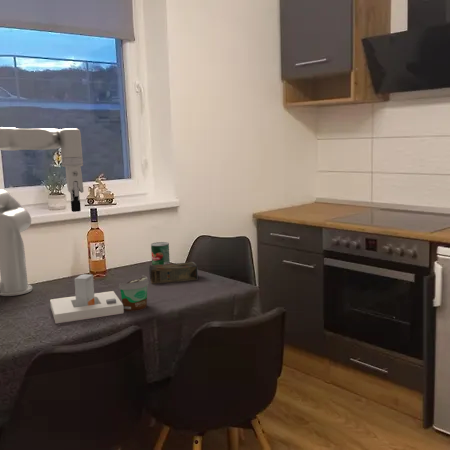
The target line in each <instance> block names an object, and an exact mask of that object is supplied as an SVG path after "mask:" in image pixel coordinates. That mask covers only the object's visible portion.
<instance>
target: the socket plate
mask: <svg viewBox="0 0 450 450" xmlns="http://www.w3.org/2000/svg"><path fill="white" fill-rule="evenodd" d="M94 298H95V305H89V306H82V307H76V295H74V296H67V297H59V298H53V299H52V298H51V299H49V305H50V310H51V313H52V317H53V319H54V324H62V323H63V324H64V323H69V322H74V321H75V322H76V321H81V320H89V319H95V318H100V317H101V318H102V317H107V316H113V315H114V316H115V315H120V314H124V313H125V311H124V309H123V304H122V300H121V299H120V298H119V296H118V295H117V294H116V293H115V291H114V290H112V291H103V292H94Z"/></svg>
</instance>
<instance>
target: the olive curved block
mask: <svg viewBox="0 0 450 450" xmlns="http://www.w3.org/2000/svg"><path fill="white" fill-rule="evenodd" d="M148 268H149V271H148V272H149V274H148V275H149V281H150V282H151V283H150V284H151V285H155V284H165V283H177V282H187V281H197V280H198V279H199V278H198V276H199V275H198V266H197V264H196V263H195V262H194V261H190V262H178V263H170V264H161V265H152V264H151V265H149V267H148Z"/></svg>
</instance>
